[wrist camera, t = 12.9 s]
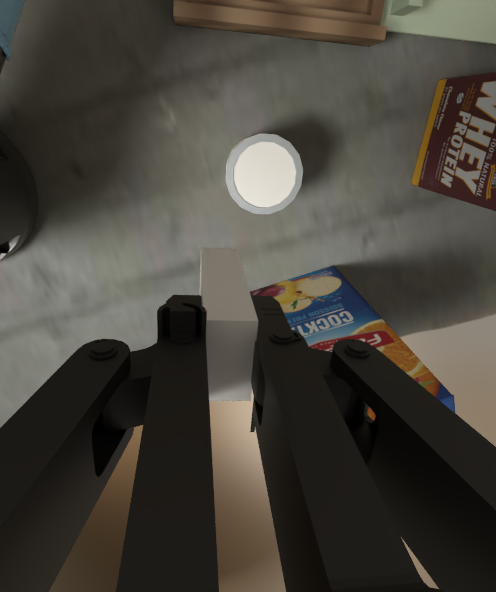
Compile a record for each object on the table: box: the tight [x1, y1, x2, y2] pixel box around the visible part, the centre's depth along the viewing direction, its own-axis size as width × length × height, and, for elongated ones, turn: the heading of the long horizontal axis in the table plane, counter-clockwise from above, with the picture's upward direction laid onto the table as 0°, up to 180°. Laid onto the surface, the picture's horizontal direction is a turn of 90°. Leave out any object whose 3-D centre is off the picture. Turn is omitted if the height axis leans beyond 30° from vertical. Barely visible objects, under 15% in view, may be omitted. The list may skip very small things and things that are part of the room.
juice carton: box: [250, 266, 455, 420], centre depth 37 cm, size 12×8×24 cm, turn 106°
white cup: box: [226, 133, 303, 214], centre depth 38 cm, size 7×7×7 cm
